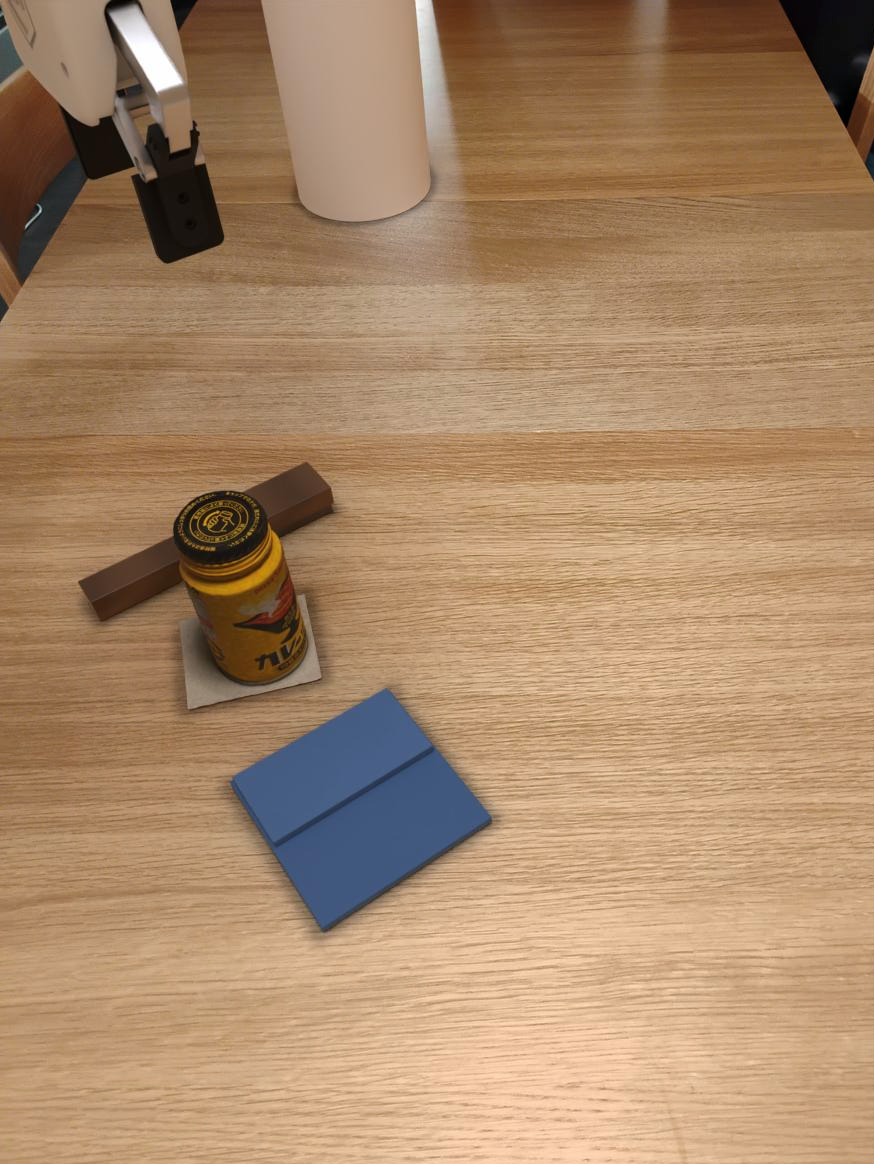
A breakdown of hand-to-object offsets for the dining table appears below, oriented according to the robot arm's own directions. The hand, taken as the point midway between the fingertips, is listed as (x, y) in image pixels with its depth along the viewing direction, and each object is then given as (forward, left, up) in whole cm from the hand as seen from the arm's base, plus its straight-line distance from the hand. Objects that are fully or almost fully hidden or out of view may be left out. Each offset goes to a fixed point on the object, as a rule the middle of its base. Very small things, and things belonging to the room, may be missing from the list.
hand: (152, 208), depth 49 cm
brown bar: (-2, +4, -26) cm, 27 cm away
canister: (+33, +41, -26) cm, 59 cm away
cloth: (-4, -20, -26) cm, 33 cm away
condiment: (-4, -6, -26) cm, 27 cm away
